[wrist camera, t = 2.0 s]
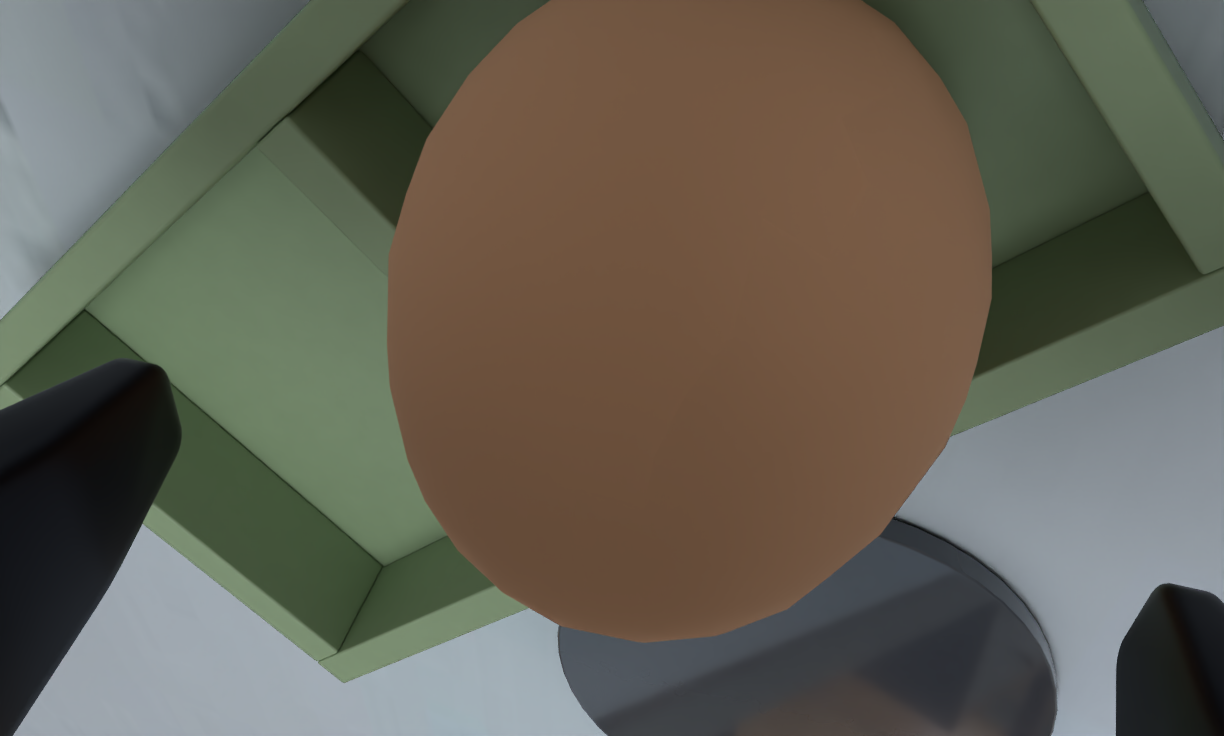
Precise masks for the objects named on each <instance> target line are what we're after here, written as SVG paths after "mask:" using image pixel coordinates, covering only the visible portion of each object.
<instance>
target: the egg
mask: <svg viewBox="0 0 1224 736" xmlns="http://www.w3.org/2000/svg"><path fill="white" fill-rule="evenodd" d="M991 299H992V247H991V226H990V208H989V204H988V201H987V197H986V193H985V189H984V186H983V182H982V178H981V174H980V171H979V167H978V163H977V159H976V156H975V152H974V148H973V144H972V140H971V137H970V133H969V129H968V125H967V122H966V121H965V119H964V117H963V116H962V114H961V112H960V110H959V109H958V107H957V105H956V104H955V102H954V100H953V98H952V97H951V95H950V93H949V92H948V90H947V88H946V87H945V85H944V83H943V81H942V80H941V78H940V77H939V75H938V74H937V73H936V72H935V71H934V69H933V68H932V67H931V66H930V65H929V63H928V62H927V61H926V60H925V59H924V57H923V56H922V55H921V54H920V53H919V51H918V50H917V49H916V48H915V46H914V45H913V44H912V43H911V42H910V40H909V39H908V38H907V37H906V36H905V34H904V33H903V32H902V31H901V30H900V28H899V27H898V26H897V25H896V24H895V22H893V21H892V20H890V19H889V18H887V17H886V16H884V15H883V14H881V13H880V12H878V11H877V10H875V9H874V8H872V7H871V6H869V5H868V4H866V3H865V2H863V1H862V0H550V1H549V2H547V3H546V4H544V5H543V6H542V7H540V8H539V9H537V10H536V11H534V12H533V13H531V14H530V15H529V16H527V17H526V18H524V19H523V20H521V21H520V22H518V23H517V24H516V25H515V26H514V27H513V28H512V29H511V30H510V31H509V33H508V34H507V35H506V36H505V37H504V38H503V39H502V40H501V41H500V42H499V43H498V44H497V45H496V46H495V47H494V48H493V49H492V51H491V52H490V53H489V54H488V55H487V56H486V57H485V58H484V59H483V60H482V61H481V62H480V63H479V64H478V65H477V66H476V67H475V69H474V70H473V71H472V72H471V73H470V74H469V75H468V76H467V78H466V79H465V81H464V82H463V84H462V86H461V87H460V89H459V90H458V92H457V93H456V95H455V96H454V98H453V99H452V101H451V102H450V104H449V105H448V107H447V108H446V110H445V111H444V113H443V115H442V116H441V118H440V119H439V121H438V122H437V124H436V125H435V127H434V128H433V130H432V131H431V133H430V134H429V136H428V137H427V139H426V142H425V144H424V147H423V150H422V152H421V155H420V158H419V161H418V163H417V166H416V169H415V171H414V174H413V177H412V179H411V182H410V185H409V188H408V190H407V193H406V196H405V200H404V203H403V206H402V210H401V213H400V217H399V220H398V224H397V227H396V231H395V234H394V238H393V241H392V245H391V248H390V252H389V262H388V314H387V353H388V368H389V384H390V390H391V394H392V398H393V403H394V407H395V411H396V415H397V419H398V423H399V427H400V431H401V435H402V439H403V443H404V448H405V452H406V456H407V460H408V462H409V465H410V467H411V469H412V472H413V474H414V477H415V479H416V481H417V484H418V486H419V488H420V491H421V493H422V495H423V498H424V500H425V502H426V504H427V505H428V507H429V508H430V510H431V511H432V513H433V514H434V516H435V517H436V519H437V520H438V522H439V523H440V525H441V526H442V528H443V529H444V531H445V532H446V534H447V535H448V537H449V538H450V540H451V541H452V543H453V544H454V546H455V547H456V549H457V550H458V551H459V552H460V553H461V554H462V555H463V556H464V557H465V558H466V559H467V560H468V561H469V562H470V563H472V564H473V565H474V566H475V567H476V568H477V569H478V570H479V571H480V572H481V573H482V574H483V575H484V576H485V577H487V578H488V579H489V580H490V581H491V582H492V583H493V584H494V585H495V586H496V587H497V588H498V589H499V590H500V591H502V592H503V593H504V594H506V595H507V596H509V597H511V598H513V599H514V600H516V601H518V602H520V603H521V604H523V605H525V606H527V607H528V608H530V609H532V610H534V611H535V612H537V613H539V614H541V615H542V616H544V617H546V618H548V619H549V620H551V621H553V622H555V623H557V624H558V625H560V626H562V627H567V628H572V629H576V630H581V631H586V632H591V633H596V634H601V635H605V636H610V637H615V638H620V639H625V640H630V641H635V642H642V643H647V642H658V641H668V640H679V639H690V638H700V637H711V636H717V635H720V634H723V633H727V632H729V631H732V630H735V629H737V628H740V627H742V626H745V625H748V624H750V623H753V622H755V621H758V620H761V619H763V618H766V617H768V616H771V615H774V614H776V613H779V612H781V611H784V610H787V609H788V608H790V607H791V606H792V605H793V604H795V603H796V602H797V601H799V600H800V599H801V598H802V597H804V596H805V595H806V594H808V593H809V592H810V591H811V590H813V589H814V588H815V587H817V586H818V585H819V584H820V583H822V582H823V581H824V580H826V579H827V578H828V577H829V576H831V575H832V574H833V573H834V572H835V571H837V570H838V569H839V568H840V567H842V566H843V565H844V564H845V563H846V562H848V561H849V560H850V559H851V558H852V557H854V556H855V555H856V554H857V553H859V552H860V551H861V550H862V549H863V548H865V547H866V546H867V545H868V544H869V543H871V542H872V541H873V540H874V539H876V538H877V537H878V536H879V535H880V534H881V533H882V532H883V530H884V529H885V528H886V526H887V525H888V524H889V522H890V521H891V520H892V518H893V517H894V516H895V514H896V513H897V511H898V510H899V509H900V507H901V506H902V505H903V503H904V502H905V501H906V499H907V498H908V497H909V495H910V494H911V493H912V491H913V490H914V489H915V487H916V486H917V484H918V483H919V482H920V480H921V479H922V478H923V476H924V475H925V474H926V472H927V471H928V470H929V468H930V467H931V466H932V464H933V463H934V461H935V460H936V459H937V457H938V456H939V455H940V453H941V452H942V451H943V449H944V448H945V446H946V444H947V442H948V439H949V437H950V435H951V433H952V430H953V428H954V426H955V423H956V421H957V419H958V417H959V414H960V412H961V410H962V407H963V405H964V403H965V401H966V398H967V394H968V391H969V388H970V385H971V381H972V378H973V375H974V371H975V368H976V365H977V361H978V356H979V352H980V347H981V343H982V339H983V334H984V330H985V326H986V321H987V317H988V312H989V308H990V304H991Z"/></svg>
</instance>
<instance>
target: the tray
mask: <svg viewBox="0 0 1224 736" xmlns="http://www.w3.org/2000/svg"><path fill="white" fill-rule="evenodd" d="M549 1H550V0H310V1H309V3H308V4H307V5H306V6H305V7H304V8H303V9H302V10H301V11H300V12H299V13H298V14H297V15H296V16H295V17H294V18H293V19H292V20H291V21H290V22H289V23H288V24H287V25H286V26H285V27H284V28H283V29H282V30H281V31H280V32H279V33H278V34H277V36H276V37H275V38H274V39H273V40H272V41H271V42H270V43H269V44H268V45H267V46H266V47H265V48H264V49H263V50H262V51H261V52H260V53H259V54H258V55H257V56H256V57H255V58H254V59H253V60H252V61H251V62H250V63H249V64H248V65H247V66H246V67H245V68H244V70H243V71H242V72H241V73H240V74H239V75H238V76H237V77H236V78H235V79H234V80H233V81H232V82H231V83H230V84H229V85H228V86H227V87H226V88H225V89H224V90H223V91H222V92H221V93H220V94H219V95H218V96H217V97H216V98H215V99H214V100H213V101H212V103H211V104H210V105H209V106H208V107H207V108H206V109H205V110H204V111H203V112H202V113H201V114H200V115H199V116H198V117H197V118H196V119H195V120H194V121H193V122H192V123H191V124H190V125H189V126H188V127H187V128H186V129H185V130H184V131H183V132H182V133H181V134H180V136H179V137H178V138H177V139H176V140H175V141H174V142H173V143H172V144H171V145H170V146H169V147H168V148H167V149H166V150H165V151H164V152H163V153H162V154H161V155H160V156H159V157H158V158H157V159H156V160H155V161H154V162H153V163H152V164H151V165H150V166H149V167H148V168H147V170H146V171H145V172H144V173H143V174H142V175H141V176H140V177H139V178H138V179H137V180H136V181H135V182H134V183H133V184H132V185H131V186H130V187H129V188H128V189H127V190H126V191H125V192H124V193H123V194H122V195H121V196H120V197H119V198H118V199H117V200H116V201H115V203H114V204H113V205H112V206H111V207H110V208H109V209H108V210H107V211H106V212H105V213H104V214H103V215H102V216H101V217H100V218H99V219H98V220H97V221H96V222H95V223H94V224H93V225H92V226H91V227H90V228H89V229H88V230H87V231H86V232H85V233H84V234H83V235H82V237H81V238H80V239H79V240H78V241H77V242H76V243H75V244H74V245H73V246H72V247H71V248H70V249H69V250H68V251H67V252H66V253H65V254H64V255H63V256H62V257H61V258H60V259H59V260H58V261H57V262H56V263H55V264H54V265H53V266H52V267H51V268H50V270H49V271H48V272H47V273H46V274H45V275H44V276H43V277H42V278H41V279H40V280H39V281H38V282H37V283H36V284H35V285H34V286H33V287H32V288H31V289H30V290H29V291H28V292H27V293H26V294H25V295H24V296H23V297H22V298H21V299H20V300H19V301H18V302H17V304H16V305H15V306H14V307H13V308H12V309H11V310H10V311H9V312H8V313H7V314H6V315H5V316H4V317H3V318H2V319H1V320H0V410H1V409H4V408H6V407H8V406H10V405H13V404H15V403H17V402H19V401H22V400H24V399H26V398H28V397H31V396H33V395H35V394H37V393H40V392H42V391H44V390H46V389H48V388H51V387H53V386H55V385H57V384H60V383H62V382H64V381H66V380H69V379H71V378H73V377H75V376H78V375H80V374H82V373H84V372H87V371H89V370H91V369H93V368H96V367H98V366H100V365H102V364H105V363H107V362H109V361H112V360H114V359H118V358H129V359H134V360H138V361H143V362H148V363H152V364H157V365H158V366H161V367H162V368H163V369H164V371H165V372H166V373H167V375H168V377H169V381H170V384H171V388H172V392H173V396H174V400H175V403H176V407H177V411H178V415H179V418H180V422H181V427H182V440H181V445H180V449H179V452H178V454H177V456H176V458H175V460H174V462H173V464H172V466H171V468H170V470H169V472H168V474H167V476H166V478H165V480H164V482H163V484H162V486H161V488H160V490H159V492H158V494H157V496H156V498H155V500H154V502H153V504H152V506H151V508H150V509H149V511H148V513H147V515H146V517H145V519H144V521H143V523H142V524H144V525H145V526H146V527H147V528H149V529H150V530H151V531H152V532H154V533H155V534H156V535H157V536H159V537H160V538H161V539H163V540H164V541H165V542H166V543H168V544H169V545H170V546H171V547H173V548H174V549H175V550H176V551H178V552H179V553H180V554H181V555H183V556H184V557H185V558H187V559H188V560H189V561H190V562H192V563H193V564H194V565H195V566H197V567H198V568H199V569H200V570H202V571H203V572H204V573H205V574H207V575H208V576H209V577H211V578H212V579H213V580H214V581H216V582H217V583H218V584H219V585H221V586H222V587H223V588H224V589H226V590H227V591H228V592H229V593H231V594H232V595H233V596H235V597H236V598H237V599H238V600H240V601H241V602H242V603H243V604H245V605H246V606H247V607H248V608H250V609H251V610H252V611H254V612H255V613H256V614H257V615H259V616H260V617H261V618H262V619H264V620H265V621H266V622H267V623H269V624H270V625H271V626H272V627H274V628H275V629H276V630H278V631H279V632H280V633H281V634H283V635H284V636H285V637H286V638H288V639H289V640H290V641H291V642H293V643H294V644H295V645H296V646H298V647H299V648H300V649H302V650H303V651H304V652H305V653H307V654H308V655H309V656H310V657H312V658H313V659H314V660H316V661H319V662H318V663H319V664H320V665H321V666H322V667H324V668H325V669H326V670H328V671H329V672H330V673H331V674H333V675H334V676H335V677H336V678H338V679H339V680H340V681H341V682H343V683H345V682H348V681H350V680H353V679H355V678H358V677H360V676H363V675H365V674H367V673H370V672H372V671H375V670H377V669H380V668H382V667H385V666H387V665H390V664H392V663H395V662H397V661H399V660H402V659H404V658H407V657H409V656H412V655H414V654H417V653H419V652H422V651H424V650H427V649H429V648H431V647H434V646H436V645H439V644H441V643H444V642H446V641H449V640H451V639H454V638H456V637H459V636H461V635H463V634H466V633H468V632H471V631H473V630H476V629H478V628H481V627H483V626H486V625H488V624H491V623H493V622H495V621H498V620H500V619H503V618H505V617H508V616H510V615H513V614H515V613H518V612H520V611H523V610H525V609H527V608H528V607H527V606H525V605H523V604H521V603H520V602H518V601H516V600H514V599H513V598H511V597H509V596H507V595H506V594H504V593H503V592H502V591H500V590H499V589H498V588H497V587H496V586H495V585H494V584H493V583H492V582H491V581H490V580H489V579H488V578H487V577H485V576H484V575H483V574H482V573H481V572H480V571H479V570H478V569H477V568H476V567H475V566H474V565H473V564H472V563H470V562H469V561H468V560H467V559H466V558H465V557H464V556H463V555H462V554H461V553H460V552H459V551H458V550H457V549H456V547H455V546H454V544H453V543H452V541H451V540H450V538H449V537H448V535H447V534H446V532H445V531H444V529H443V528H442V526H441V525H440V523H439V522H438V520H437V519H436V517H435V516H434V514H433V513H432V511H431V510H430V508H429V507H428V505H427V504H426V502H425V500H424V498H423V495H422V493H421V491H420V488H419V486H418V484H417V481H416V479H415V477H414V474H413V472H412V469H411V467H410V465H409V462H408V460H407V456H406V452H405V448H404V443H403V439H402V435H401V431H400V427H399V423H398V419H397V415H396V411H395V407H394V403H393V398H392V394H391V390H390V384H389V368H388V353H387V314H388V262H389V252H390V248H391V245H392V241H393V238H394V234H395V231H396V227H397V224H398V220H399V217H400V213H401V210H402V206H403V203H404V200H405V196H406V193H407V190H408V188H409V185H410V182H411V179H412V177H413V174H414V171H415V169H416V166H417V163H418V161H419V158H420V155H421V152H422V150H423V147H424V144H425V142H426V139H427V137H428V136H429V134H430V133H431V131H432V130H433V128H434V127H435V125H436V124H437V122H438V121H439V119H440V118H441V116H442V115H443V113H444V111H445V110H446V108H447V107H448V105H449V104H450V102H451V101H452V99H453V98H454V96H455V95H456V93H457V92H458V90H459V89H460V87H461V86H462V84H463V82H464V81H465V79H466V78H467V76H468V75H469V74H470V73H471V72H472V71H473V70H474V69H475V67H476V66H477V65H478V64H479V63H480V62H481V61H482V60H483V59H484V58H485V57H486V56H487V55H488V54H489V53H490V52H491V51H492V49H493V48H494V47H495V46H496V45H497V44H498V43H499V42H500V41H501V40H502V39H503V38H504V37H505V36H506V35H507V34H508V33H509V31H510V30H511V29H512V28H513V27H514V26H515V25H516V24H517V23H518V22H520V21H521V20H523V19H524V18H526V17H527V16H529V15H530V14H531V13H533V12H534V11H536V10H537V9H539V8H540V7H542V6H543V5H544V4H546V3H547V2H549ZM862 1H863V2H865V3H866V4H868V5H869V6H871V7H872V8H874V9H875V10H877V11H878V12H880V13H881V14H883V15H884V16H886V17H887V18H889V19H890V20H892V21H893V22H895V24H896V25H897V26H898V27H899V28H900V30H901V31H902V32H903V33H904V34H905V36H906V37H907V38H908V39H909V40H910V42H911V43H912V44H913V45H914V46H915V48H916V49H917V50H918V51H919V53H920V54H921V55H922V56H923V57H924V59H925V60H926V61H927V62H928V63H929V65H930V66H931V67H932V68H933V69H934V71H935V72H936V73H937V74H938V75H939V77H940V78H941V80H942V81H943V83H944V85H945V87H946V88H947V90H948V92H949V93H950V95H951V97H952V98H953V100H954V102H955V104H956V105H957V107H958V109H959V110H960V112H961V114H962V116H963V117H964V119H965V121H966V122H967V125H968V129H969V133H970V137H971V140H972V144H973V148H974V152H975V156H976V159H977V163H978V167H979V171H980V174H981V178H982V182H983V186H984V189H985V193H986V197H987V201H988V204H989V208H990V226H991V247H992V299H991V304H990V308H989V312H988V317H987V321H986V326H985V330H984V334H983V339H982V343H981V347H980V352H979V356H978V361H977V365H976V368H975V371H974V375H973V378H972V381H971V385H970V388H969V391H968V394H967V398H966V401H965V403H964V405H963V407H962V410H961V412H960V414H959V417H958V419H957V421H956V423H955V426H954V428H953V430H952V433H951V435H950V437H951V436H953V435H956V434H958V433H961V432H963V431H965V430H968V429H970V428H973V427H975V426H978V425H980V424H983V423H985V422H988V421H990V420H993V419H995V418H997V417H1000V416H1002V415H1005V414H1007V413H1010V412H1012V411H1015V410H1017V409H1020V408H1022V407H1024V406H1027V405H1029V404H1032V403H1034V402H1037V401H1039V400H1042V399H1044V398H1047V397H1049V396H1052V395H1054V394H1056V393H1059V392H1061V391H1064V390H1066V389H1069V388H1071V387H1074V386H1076V385H1079V384H1081V383H1084V382H1086V381H1088V380H1091V379H1093V378H1096V377H1098V376H1101V375H1103V374H1106V373H1108V372H1111V371H1113V370H1116V369H1118V368H1120V367H1123V366H1125V365H1128V364H1130V363H1133V362H1135V361H1138V360H1140V359H1143V358H1145V357H1148V356H1150V355H1152V354H1155V353H1157V352H1160V351H1162V350H1165V349H1167V348H1170V347H1172V346H1175V345H1177V344H1180V343H1182V342H1184V341H1187V340H1189V339H1192V338H1194V337H1197V336H1199V335H1202V334H1204V333H1207V332H1209V331H1212V330H1214V329H1216V328H1219V327H1221V326H1224V141H1223V139H1222V137H1221V136H1220V134H1219V132H1218V131H1217V129H1216V127H1215V125H1214V124H1213V122H1212V120H1211V118H1210V117H1209V115H1208V113H1207V112H1206V110H1205V108H1204V106H1203V105H1202V103H1201V101H1200V99H1199V98H1198V96H1197V94H1196V92H1195V91H1194V89H1193V87H1192V86H1191V84H1190V82H1189V80H1188V79H1187V77H1186V75H1185V73H1184V72H1183V70H1182V68H1181V66H1180V65H1179V63H1178V61H1177V60H1176V58H1175V56H1174V54H1173V53H1172V51H1171V49H1170V47H1169V46H1168V44H1167V42H1166V41H1165V39H1164V37H1163V35H1162V34H1161V32H1160V30H1159V28H1158V27H1157V25H1156V23H1155V21H1154V20H1153V18H1152V16H1151V15H1150V13H1149V11H1148V9H1147V8H1146V6H1145V4H1144V2H1143V1H1142V0H862Z"/></svg>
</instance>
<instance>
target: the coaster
mask: <svg viewBox="0 0 1224 736" xmlns="http://www.w3.org/2000/svg"><path fill="white" fill-rule="evenodd" d="M558 650H559V656H560V660H561V664H562V668H563V672H564V674H565V677H566V679H567V681H568V683H569V686H570V688H571V690H572V692H573V693H574V695H575V697H576V698H577V700H578V701H579V703H580V705H581V706H582V708H583V709H584V710H585V712H586V713H587V714H588V715H589V716H590V718H591V719H592V720H593V721H594V722H595V724H596V725H597V726H598V727H599V728H600V729H601V730H602V731H603V732H604V733H605V734H606V735H607V736H1051V735H1052V732H1053V729H1054V725H1055V720H1056V715H1057V686H1056V676H1055V668H1054V664H1053V660H1052V656H1051V652H1050V648H1049V646H1048V643H1047V641H1046V639H1045V637H1044V635H1043V633H1042V631H1041V629H1040V627H1039V625H1038V623H1037V622H1036V620H1035V619H1034V618H1033V616H1032V615H1031V613H1030V612H1029V610H1028V609H1027V608H1026V606H1025V605H1024V603H1023V602H1022V601H1021V600H1020V599H1019V598H1018V597H1017V596H1016V595H1015V594H1014V593H1013V592H1012V591H1011V589H1010V588H1009V587H1008V586H1007V585H1006V584H1005V583H1004V582H1003V581H1002V580H1001V579H999V578H998V577H997V576H996V575H994V574H993V573H992V572H991V571H989V570H988V569H987V568H986V567H984V566H983V565H982V564H980V563H979V562H978V561H977V560H975V559H973V558H972V557H970V556H969V555H967V554H965V553H964V552H962V551H961V550H959V549H957V548H956V547H954V546H952V545H951V544H949V543H948V542H945V541H943V540H941V539H939V538H937V537H935V536H933V535H931V534H929V533H927V532H925V531H923V530H921V529H918V528H916V527H914V526H911V525H908V524H906V523H903V522H900V521H897V520H895V519H892V520H891V521H890V522H889V524H888V525H887V526H886V528H885V529H884V530H883V532H882V533H881V534H880V535H879V536H878V537H877V538H876V539H874V540H873V541H872V542H871V543H869V544H868V545H867V546H866V547H865V548H863V549H862V550H861V551H860V552H859V553H857V554H856V555H855V556H854V557H852V558H851V559H850V560H849V561H848V562H846V563H845V564H844V565H843V566H842V567H840V568H839V569H838V570H837V571H835V572H834V573H833V574H832V575H831V576H829V577H828V578H827V579H826V580H824V581H823V582H822V583H820V584H819V585H818V586H817V587H815V588H814V589H813V590H811V591H810V592H809V593H808V594H806V595H805V596H804V597H802V598H801V599H800V600H799V601H797V602H796V603H795V604H793V605H792V606H791V607H790V608H788V609H787V610H784V611H781V612H779V613H776V614H774V615H771V616H768V617H766V618H763V619H761V620H758V621H755V622H753V623H750V624H748V625H745V626H742V627H740V628H737V629H735V630H732V631H729V632H727V633H723V634H720V635H717V636H711V637H700V638H690V639H679V640H668V641H658V642H647V643H642V642H635V641H630V640H625V639H620V638H615V637H610V636H605V635H601V634H596V633H591V632H586V631H581V630H576V629H572V628H567V627H562V626H560V625H559V627H558Z"/></svg>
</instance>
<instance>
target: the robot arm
mask: <svg viewBox="0 0 1224 736" xmlns="http://www.w3.org/2000/svg"><path fill="white" fill-rule="evenodd" d="M181 440H182V427H181V422H180V418H179V415H178V411H177V407H176V403H175V400H174V396H173V392H172V388H171V384H170V381H169V377H168V375H167V373H166V372H165V371H164V369H163V368H162V367H161V366H158V365H157V364H152V363H148V362H143V361H138V360H134V359H129V358H118V359H114V360H112V361H109V362H107V363H105V364H102V365H100V366H98V367H96V368H93V369H91V370H89V371H87V372H84V373H82V374H80V375H78V376H75V377H73V378H71V379H69V380H66V381H64V382H62V383H60V384H57V385H55V386H53V387H51V388H48V389H46V390H44V391H42V392H40V393H37V394H35V395H33V396H31V397H28V398H26V399H24V400H22V401H19V402H17V403H15V404H13V405H10V406H8V407H6V408H4V409H1V410H0V736H13V735H14V733H15V731H16V730H17V728H18V727H19V725H20V724H21V722H22V721H23V719H24V718H25V716H26V715H27V713H28V712H29V710H30V708H31V707H32V705H33V704H34V702H35V701H36V699H37V698H38V696H39V695H40V693H41V692H42V690H43V689H44V687H45V686H46V684H47V682H48V681H49V679H50V678H51V676H52V675H53V673H54V672H55V670H56V669H57V667H58V666H59V664H60V663H61V661H62V659H63V658H64V656H65V655H66V653H67V652H68V650H69V649H70V647H71V646H72V644H73V643H74V641H75V640H76V638H77V636H78V635H79V633H80V632H81V630H82V629H83V627H84V626H85V624H86V623H87V621H88V620H89V618H90V617H91V615H92V613H93V612H94V610H95V609H96V607H97V606H98V604H99V602H100V601H101V599H102V598H103V596H104V594H105V593H106V591H107V590H108V588H109V586H110V585H111V583H112V581H113V579H114V577H115V575H116V574H117V572H118V570H119V568H120V566H121V565H122V563H123V561H124V559H125V557H126V555H127V553H128V551H129V549H130V547H131V545H132V543H133V541H134V539H135V537H136V535H137V533H138V531H139V529H140V527H141V525H142V523H143V521H144V519H145V517H146V515H147V513H148V511H149V509H150V508H151V506H152V504H153V502H154V500H155V498H156V496H157V494H158V492H159V490H160V488H161V486H162V484H163V482H164V480H165V478H166V476H167V474H168V472H169V470H170V468H171V466H172V464H173V462H174V460H175V458H176V456H177V454H178V452H179V449H180V445H181ZM1116 736H1224V603H1223V602H1222V601H1221V600H1220V599H1219V598H1218V597H1217V596H1215V595H1214V594H1212V593H1210V592H1207V591H1203V590H1198V589H1193V588H1189V587H1184V586H1180V585H1175V584H1170V583H1167V584H1161V585H1159V586H1158V587H1157V588H1155V590H1154V591H1153V592H1152V593H1151V595H1150V596H1149V598H1148V600H1147V601H1146V603H1145V605H1144V606H1143V608H1142V610H1141V611H1140V613H1139V614H1138V616H1137V618H1136V619H1135V621H1134V623H1133V624H1132V626H1131V628H1130V629H1129V631H1128V632H1127V634H1126V636H1125V637H1124V639H1123V641H1122V643H1121V646H1120V649H1119V653H1118V658H1117V667H1116Z"/></svg>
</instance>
